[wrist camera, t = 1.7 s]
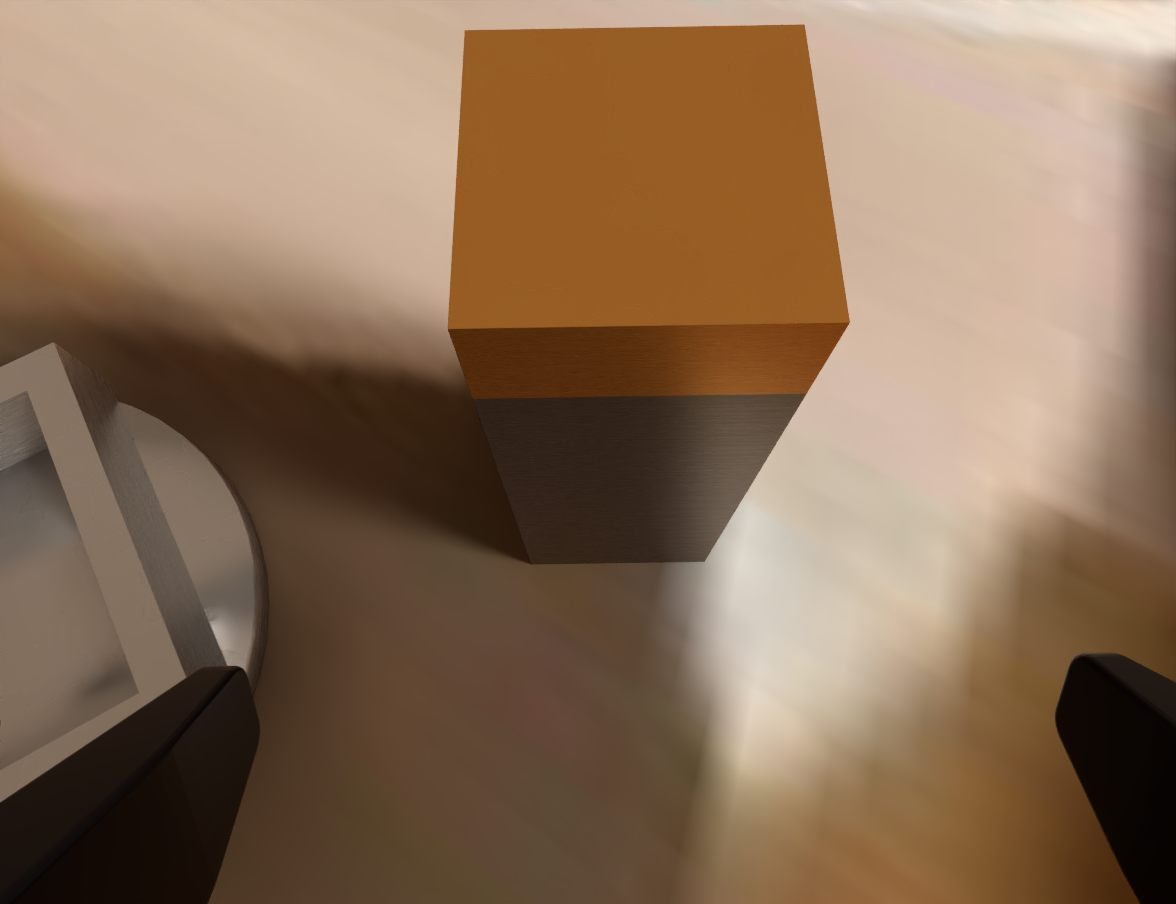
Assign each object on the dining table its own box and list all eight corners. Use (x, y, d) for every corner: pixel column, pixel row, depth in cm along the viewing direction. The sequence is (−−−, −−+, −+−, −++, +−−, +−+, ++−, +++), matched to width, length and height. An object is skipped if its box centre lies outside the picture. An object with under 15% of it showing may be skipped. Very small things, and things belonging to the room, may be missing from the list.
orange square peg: (704, 561, 21) (850, 322, 9) (531, 564, 21) (447, 329, 9) (693, 403, 23) (804, 25, 11) (533, 406, 23) (465, 30, 11)
